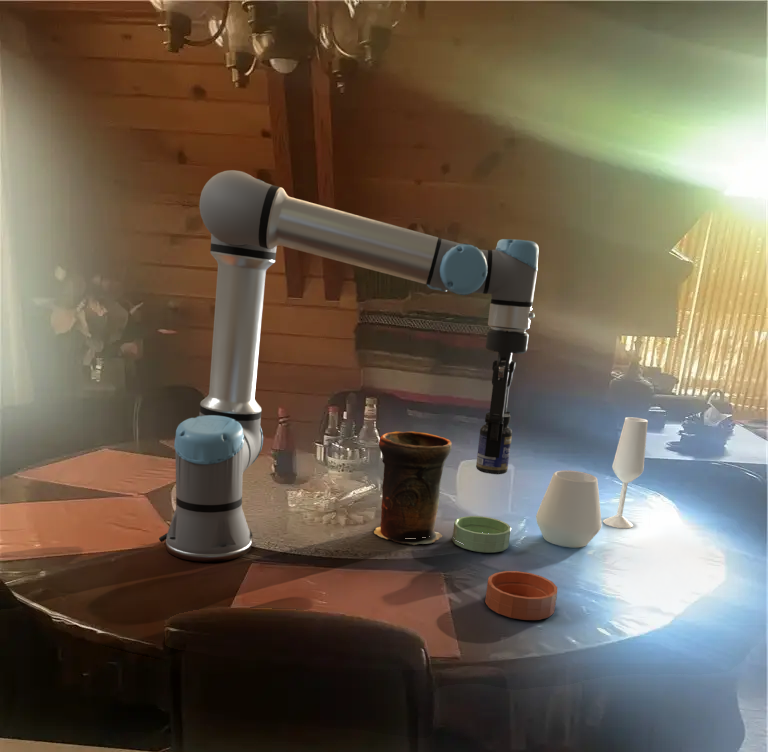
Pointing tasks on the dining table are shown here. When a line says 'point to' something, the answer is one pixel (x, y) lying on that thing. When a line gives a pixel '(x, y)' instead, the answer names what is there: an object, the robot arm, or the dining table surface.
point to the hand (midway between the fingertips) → (493, 452)
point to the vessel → (411, 485)
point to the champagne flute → (628, 462)
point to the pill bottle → (501, 463)
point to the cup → (570, 509)
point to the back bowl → (481, 534)
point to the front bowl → (521, 595)
